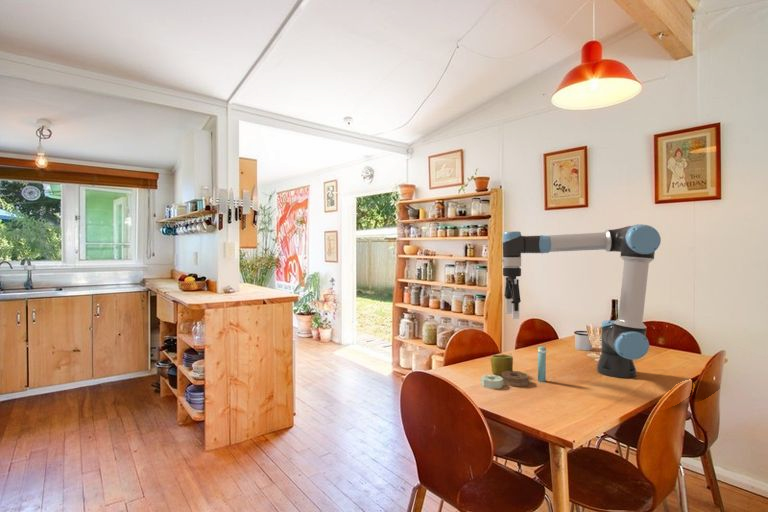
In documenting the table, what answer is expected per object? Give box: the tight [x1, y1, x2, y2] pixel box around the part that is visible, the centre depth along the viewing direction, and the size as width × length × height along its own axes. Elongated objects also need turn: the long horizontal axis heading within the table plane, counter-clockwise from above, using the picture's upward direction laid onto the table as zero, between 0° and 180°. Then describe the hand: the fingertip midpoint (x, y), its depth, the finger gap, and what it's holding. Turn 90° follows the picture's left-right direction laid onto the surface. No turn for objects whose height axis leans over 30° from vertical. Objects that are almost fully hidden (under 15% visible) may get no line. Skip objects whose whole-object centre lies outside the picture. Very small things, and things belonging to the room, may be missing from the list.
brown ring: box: [501, 370, 529, 388], centre depth 166 cm, size 10×10×3 cm
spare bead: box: [480, 374, 504, 390], centre depth 163 cm, size 8×8×3 cm
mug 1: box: [490, 353, 514, 377], centre depth 178 cm, size 12×10×10 cm
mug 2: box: [573, 330, 593, 352], centre depth 221 cm, size 12×10×9 cm
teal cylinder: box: [537, 346, 547, 383], centre depth 168 cm, size 3×3×14 cm
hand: (512, 316), depth 176 cm, fingers open, 13 cm apart
